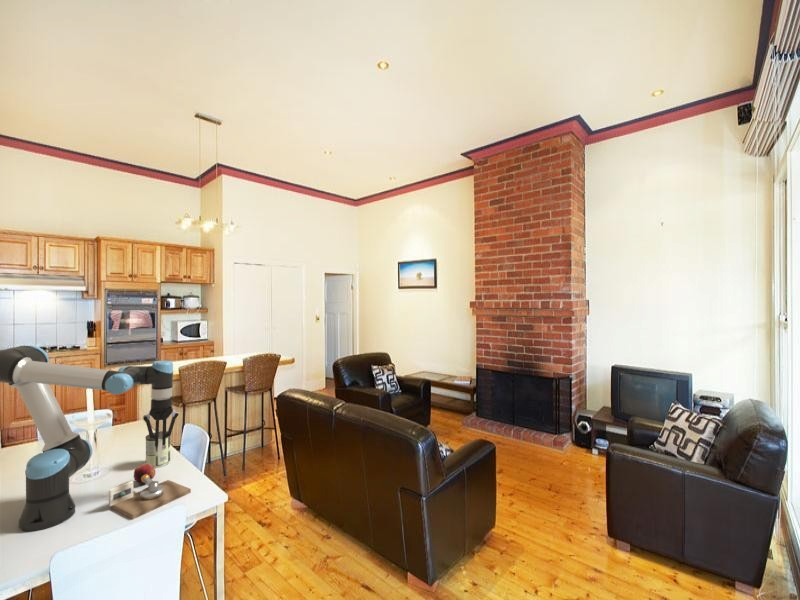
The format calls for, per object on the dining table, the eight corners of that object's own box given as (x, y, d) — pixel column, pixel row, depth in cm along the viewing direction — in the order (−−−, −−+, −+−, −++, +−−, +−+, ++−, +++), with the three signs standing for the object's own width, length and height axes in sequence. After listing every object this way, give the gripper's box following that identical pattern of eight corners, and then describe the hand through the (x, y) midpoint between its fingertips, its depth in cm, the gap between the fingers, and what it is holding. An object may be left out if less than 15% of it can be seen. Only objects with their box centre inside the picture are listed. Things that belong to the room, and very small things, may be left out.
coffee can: (155, 458, 192) (156, 430, 192) (175, 459, 191) (175, 431, 191) (140, 467, 181) (140, 438, 181) (160, 468, 180) (160, 439, 180)
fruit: (156, 477, 172) (156, 460, 171) (152, 485, 164) (152, 467, 164) (136, 480, 169) (136, 462, 169) (131, 488, 162) (131, 470, 162)
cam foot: (166, 494, 154) (167, 481, 154) (143, 502, 148) (143, 488, 148) (155, 482, 164) (155, 470, 164) (133, 489, 158) (133, 476, 158)
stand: (130, 520, 139) (130, 500, 139) (107, 508, 146) (107, 489, 146) (190, 492, 159) (190, 474, 159) (168, 483, 167) (168, 466, 167)
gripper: (179, 394, 168) (177, 447, 168) (143, 397, 161) (141, 453, 161) (179, 398, 161) (177, 454, 161) (142, 401, 154) (140, 459, 154)
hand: (159, 453), depth 161 cm, fingers closed
